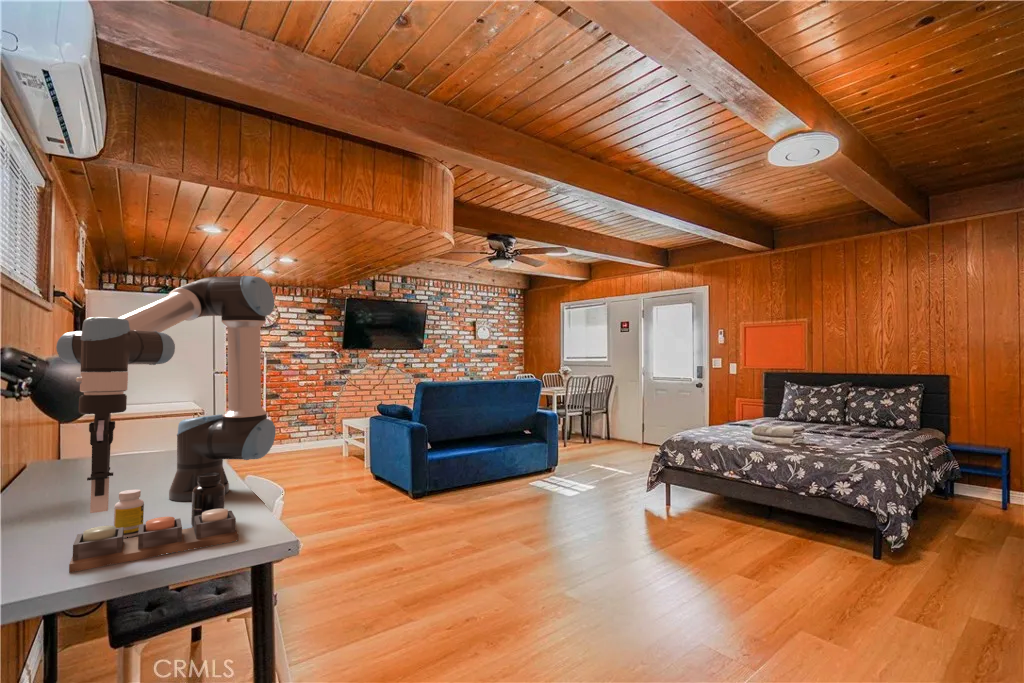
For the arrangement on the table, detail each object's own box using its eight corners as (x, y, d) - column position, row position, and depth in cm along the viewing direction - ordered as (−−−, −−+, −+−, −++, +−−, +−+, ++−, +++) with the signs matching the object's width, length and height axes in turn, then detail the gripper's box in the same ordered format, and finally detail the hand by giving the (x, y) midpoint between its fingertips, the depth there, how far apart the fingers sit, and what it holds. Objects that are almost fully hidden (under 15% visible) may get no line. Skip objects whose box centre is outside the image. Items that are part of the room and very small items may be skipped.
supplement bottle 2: (186, 529, 118) (188, 478, 118) (196, 520, 124) (197, 472, 125) (219, 527, 119) (220, 476, 120) (227, 518, 126) (228, 470, 127)
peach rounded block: (226, 517, 116) (226, 507, 116) (228, 523, 112) (229, 512, 112) (200, 521, 113) (201, 511, 113) (202, 527, 109) (202, 516, 109)
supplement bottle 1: (145, 534, 115) (147, 491, 115) (116, 540, 111) (117, 495, 111) (140, 529, 118) (141, 487, 119) (110, 535, 114) (112, 491, 115)
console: (231, 527, 119) (231, 508, 119) (238, 540, 110) (238, 520, 110) (76, 554, 103) (76, 532, 103) (68, 572, 94) (69, 548, 94)
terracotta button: (173, 526, 110) (174, 515, 110) (174, 532, 106) (175, 520, 106) (145, 530, 107) (146, 519, 107) (145, 537, 103) (145, 525, 103)
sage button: (115, 535, 104) (116, 523, 104) (114, 542, 100) (114, 530, 100) (84, 540, 101) (84, 528, 101) (81, 548, 97) (82, 535, 97)
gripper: (82, 392, 105) (78, 507, 104) (75, 395, 94) (70, 522, 93) (128, 391, 109) (124, 501, 108) (125, 394, 99) (121, 515, 98)
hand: (99, 511), depth 101 cm, fingers closed
